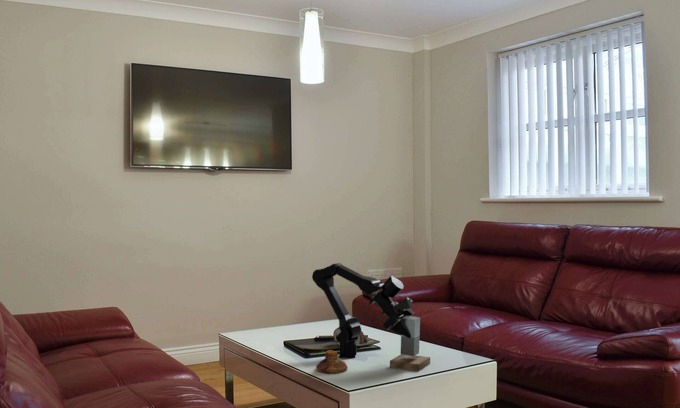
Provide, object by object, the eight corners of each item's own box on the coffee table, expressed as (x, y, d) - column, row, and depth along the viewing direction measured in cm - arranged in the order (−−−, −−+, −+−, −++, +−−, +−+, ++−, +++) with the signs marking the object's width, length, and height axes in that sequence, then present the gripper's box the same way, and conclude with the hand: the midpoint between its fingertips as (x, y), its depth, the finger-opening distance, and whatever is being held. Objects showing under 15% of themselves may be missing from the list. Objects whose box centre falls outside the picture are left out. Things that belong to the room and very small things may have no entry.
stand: (389, 367, 240) (389, 360, 240) (401, 360, 250) (401, 353, 250) (419, 371, 234) (419, 364, 234) (430, 363, 245) (430, 357, 245)
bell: (315, 366, 243) (315, 347, 242) (346, 365, 243) (346, 347, 243) (316, 375, 231) (316, 355, 231) (348, 374, 232) (348, 354, 232)
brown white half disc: (365, 347, 272) (364, 328, 272) (361, 349, 270) (361, 329, 270) (336, 343, 280) (335, 325, 280) (332, 345, 278) (332, 326, 278)
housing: (400, 354, 241) (401, 318, 241) (405, 351, 246) (407, 315, 246) (413, 356, 239) (415, 319, 238) (419, 353, 243) (420, 317, 243)
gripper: (390, 295, 236) (418, 327, 231) (409, 288, 252) (435, 318, 247) (371, 314, 240) (398, 345, 234) (391, 306, 256) (416, 336, 251)
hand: (413, 335), depth 242 cm, fingers closed on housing, 5 cm apart
